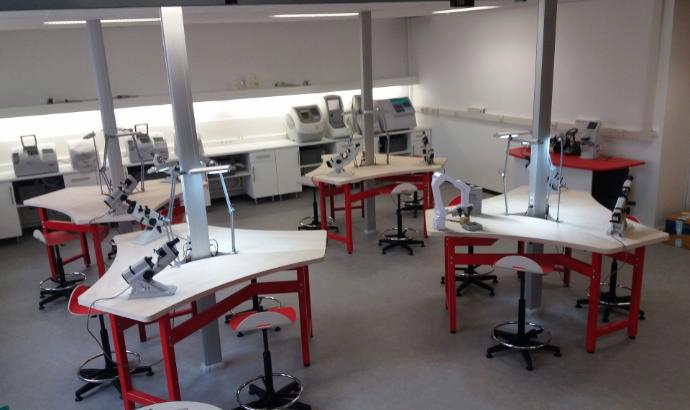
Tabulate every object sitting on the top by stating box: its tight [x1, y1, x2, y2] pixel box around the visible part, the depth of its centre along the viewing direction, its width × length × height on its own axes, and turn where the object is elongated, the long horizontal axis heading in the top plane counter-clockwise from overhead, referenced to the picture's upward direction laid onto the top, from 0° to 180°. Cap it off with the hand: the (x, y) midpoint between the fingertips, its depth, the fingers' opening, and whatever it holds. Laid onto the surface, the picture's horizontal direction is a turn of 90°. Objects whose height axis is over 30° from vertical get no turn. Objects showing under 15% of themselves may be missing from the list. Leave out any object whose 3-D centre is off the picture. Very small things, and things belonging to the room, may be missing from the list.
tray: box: [461, 221, 483, 232], centre depth 442 cm, size 12×10×4 cm
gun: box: [445, 207, 471, 222], centre depth 467 cm, size 5×27×15 cm, turn 62°
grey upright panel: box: [461, 184, 483, 215], centre depth 482 cm, size 17×5×25 cm, turn 91°
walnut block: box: [459, 216, 470, 226], centre depth 452 cm, size 5×5×6 cm
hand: (464, 216), depth 451 cm, fingers open, 7 cm apart
